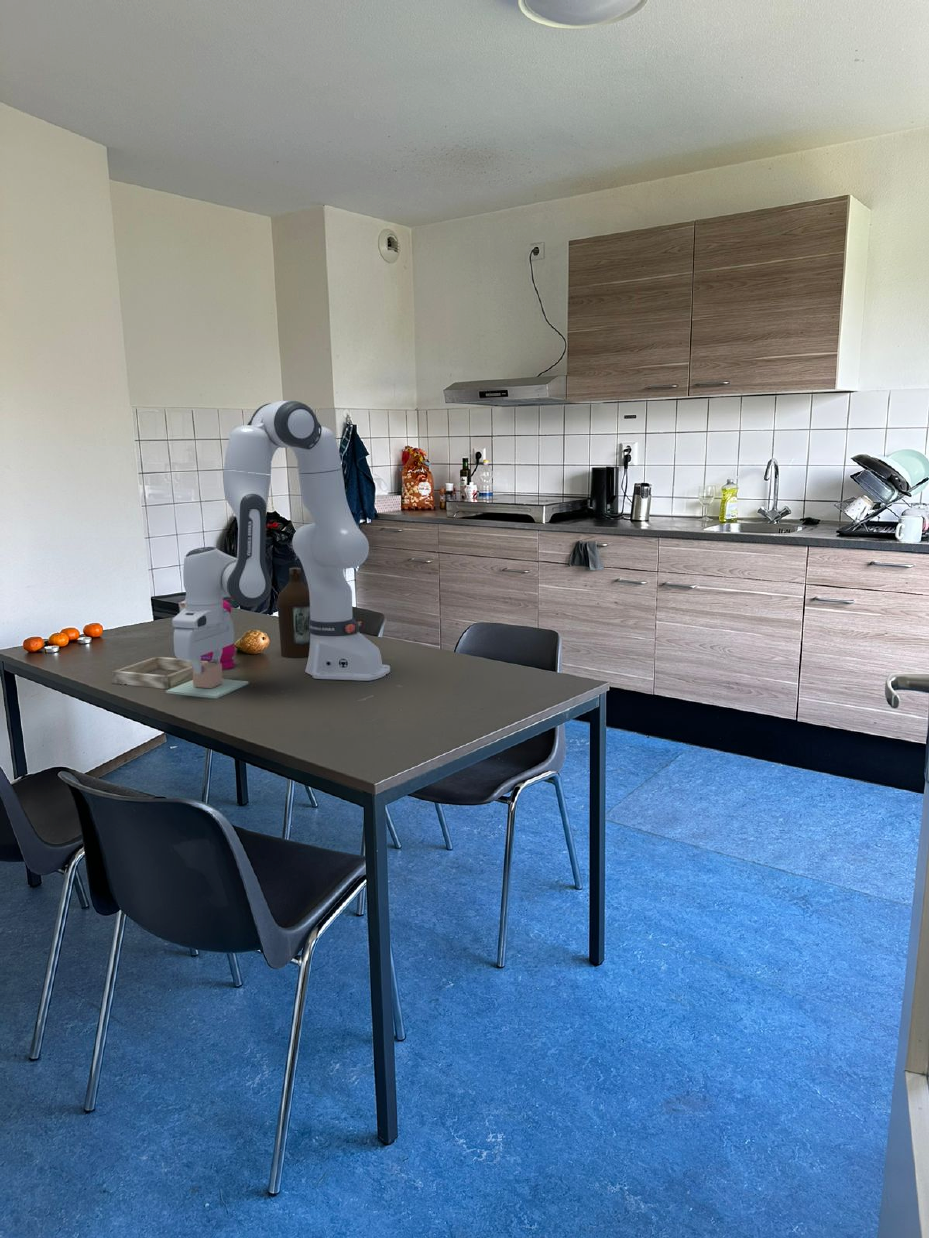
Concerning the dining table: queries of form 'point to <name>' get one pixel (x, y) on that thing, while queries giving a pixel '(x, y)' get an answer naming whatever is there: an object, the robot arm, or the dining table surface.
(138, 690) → the dining table surface
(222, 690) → the mat
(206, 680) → the cube
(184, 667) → the cubby frame
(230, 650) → the pepper mill
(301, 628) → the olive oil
